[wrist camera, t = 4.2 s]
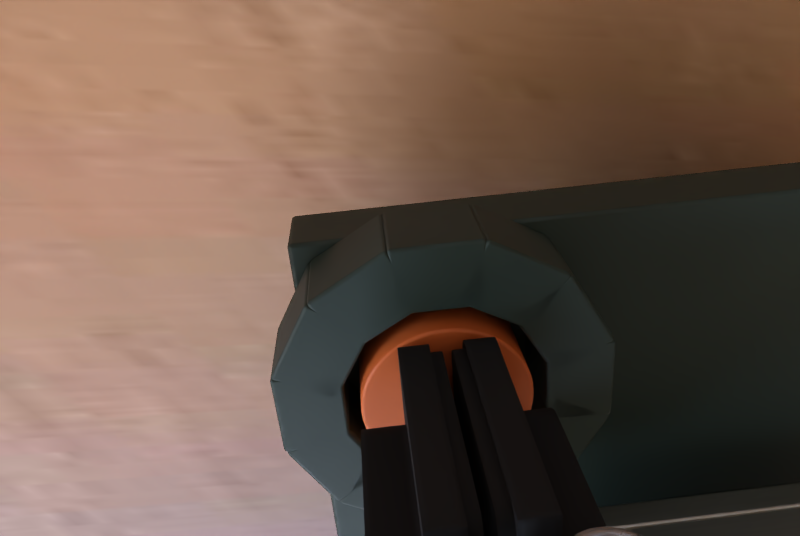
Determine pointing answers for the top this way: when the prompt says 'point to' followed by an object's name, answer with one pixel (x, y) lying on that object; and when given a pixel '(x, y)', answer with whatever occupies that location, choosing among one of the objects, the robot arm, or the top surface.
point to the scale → (572, 324)
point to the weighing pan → (713, 514)
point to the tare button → (441, 335)
